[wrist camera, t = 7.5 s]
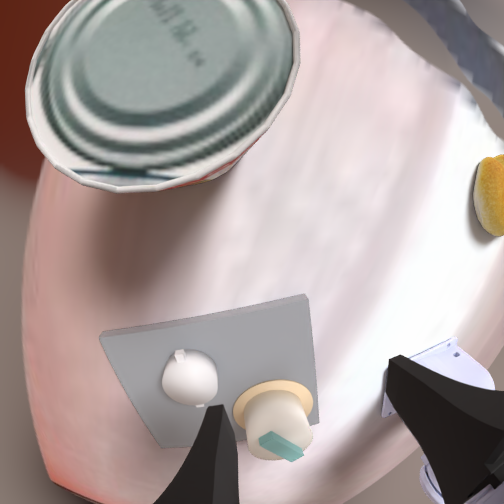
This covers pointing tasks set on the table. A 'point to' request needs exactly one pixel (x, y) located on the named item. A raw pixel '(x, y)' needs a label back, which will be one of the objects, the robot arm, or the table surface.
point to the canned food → (159, 88)
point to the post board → (230, 347)
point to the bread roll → (490, 194)
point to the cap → (276, 426)
